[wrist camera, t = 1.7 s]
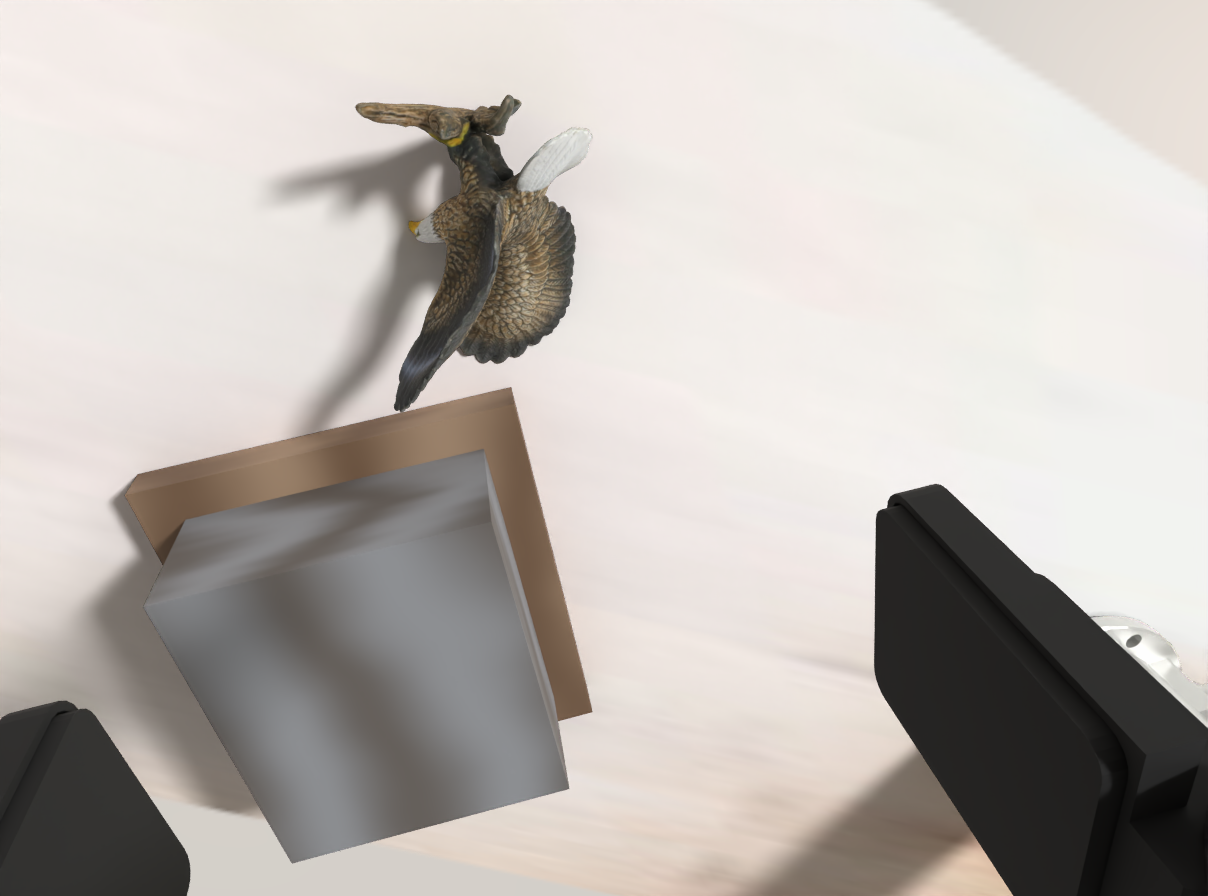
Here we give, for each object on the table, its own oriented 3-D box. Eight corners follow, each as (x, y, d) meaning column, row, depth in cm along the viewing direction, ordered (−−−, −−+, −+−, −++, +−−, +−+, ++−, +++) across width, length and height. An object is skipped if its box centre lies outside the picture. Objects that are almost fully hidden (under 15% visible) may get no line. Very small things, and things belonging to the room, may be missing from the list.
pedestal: (510, 387, 32) (527, 471, 26) (587, 688, 39) (612, 803, 34) (137, 474, 31) (70, 581, 25) (292, 765, 38) (267, 896, 33)
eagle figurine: (293, 116, 25) (345, 404, 28) (414, 84, 20) (464, 442, 23) (499, 112, 30) (526, 359, 33) (640, 86, 25) (658, 381, 28)
